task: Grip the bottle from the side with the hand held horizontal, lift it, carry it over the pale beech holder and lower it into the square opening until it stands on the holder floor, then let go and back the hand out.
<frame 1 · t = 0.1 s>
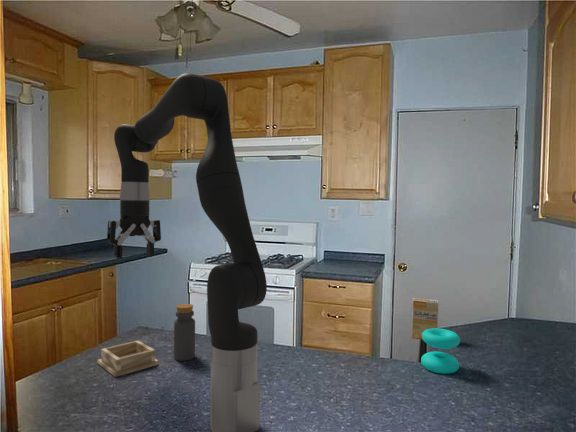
hand: (134, 257, 115), 29 cm above the worktop, tool pointing down, fingers open, 8 cm apart
bottle holder: (128, 363, 115), on the worktop
donuts: (439, 368, 116), on the worktop
bottle: (184, 357, 121), on the worktop
supplement box: (424, 338, 141), on the worktop
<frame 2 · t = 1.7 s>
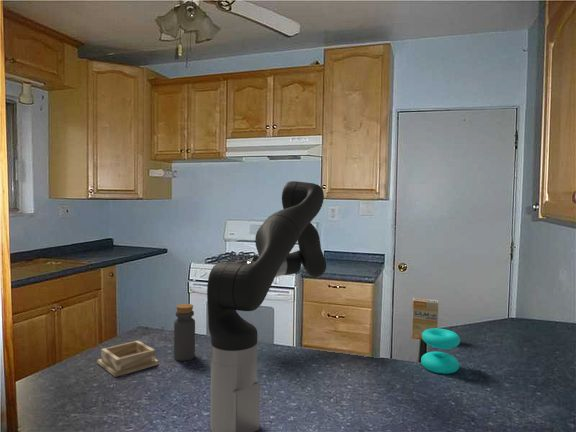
hand: (221, 269, 125), 25 cm above the worktop, tool horizontal, fingers open, 8 cm apart
nothing on the worktop moved.
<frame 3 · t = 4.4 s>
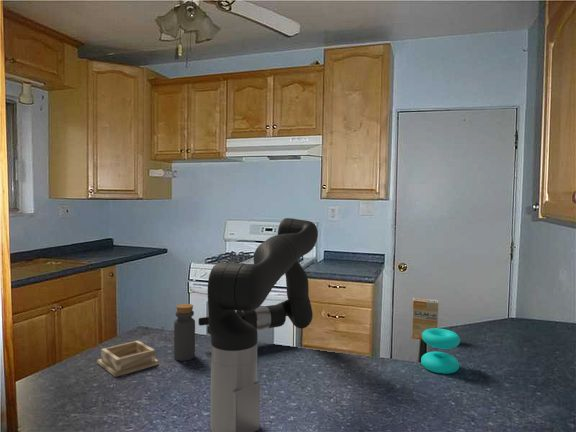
hand: (203, 325, 123), 8 cm above the worktop, tool horizontal, fingers open, 8 cm apart
nothing on the worktop moved.
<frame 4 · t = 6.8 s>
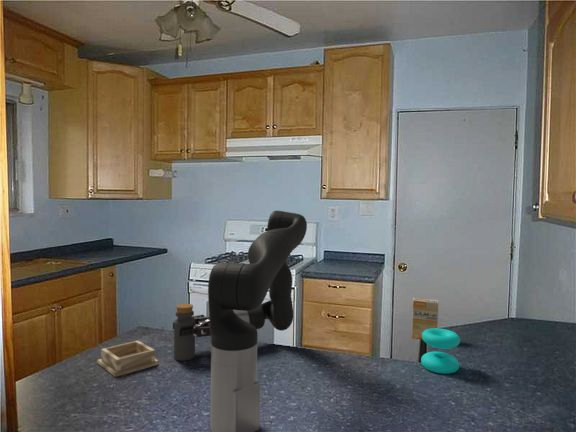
hand: (176, 329, 119), 9 cm above the worktop, tool horizontal, fingers closed on bottle, 5 cm apart
bottle: (184, 357, 121), on the worktop, touching gripper
everything else where it was.
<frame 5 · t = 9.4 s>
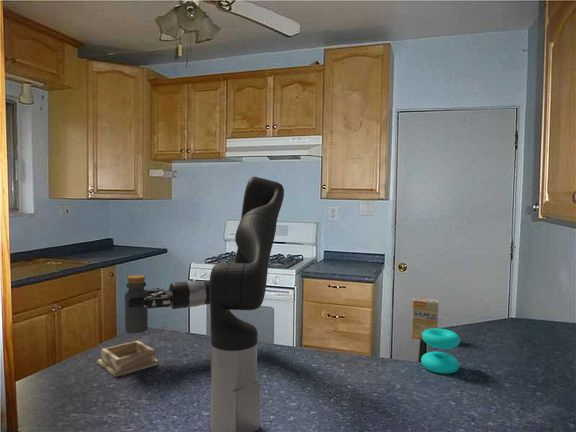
hand: (126, 300, 114), 18 cm above the worktop, tool horizontal, fingers closed on bottle, 5 cm apart
bottle: (136, 330, 116), point 9 cm above the worktop, touching gripper
everything else where it was.
when the fingers open (11 cm above the worktop, at t = 12.2 s): bottle drops 1 cm, resting on bottle holder.
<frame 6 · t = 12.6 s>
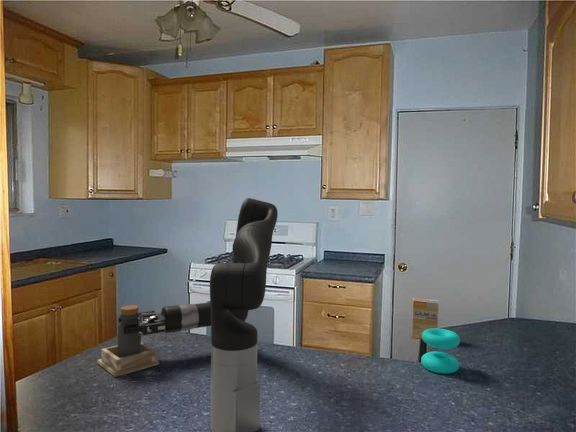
hand: (120, 325, 114), 11 cm above the worktop, tool horizontal, fingers open, 8 cm apart
bottle: (129, 362, 114), point 1 cm above the worktop, touching bottle holder, gripper
everything else where it was.
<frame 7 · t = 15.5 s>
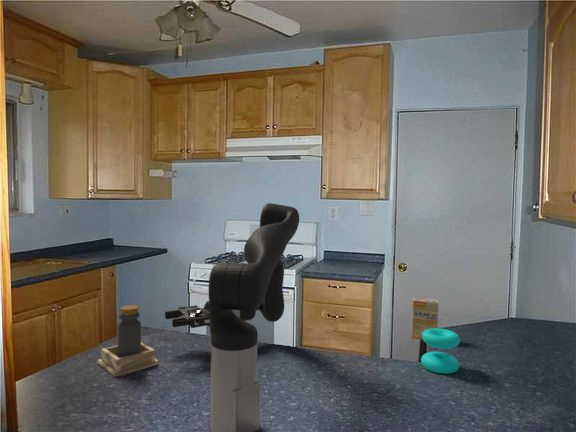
hand: (168, 319, 120), 11 cm above the worktop, tool horizontal, fingers open, 8 cm apart
bottle: (129, 362, 114), point 1 cm above the worktop, touching bottle holder
everything else where it was.
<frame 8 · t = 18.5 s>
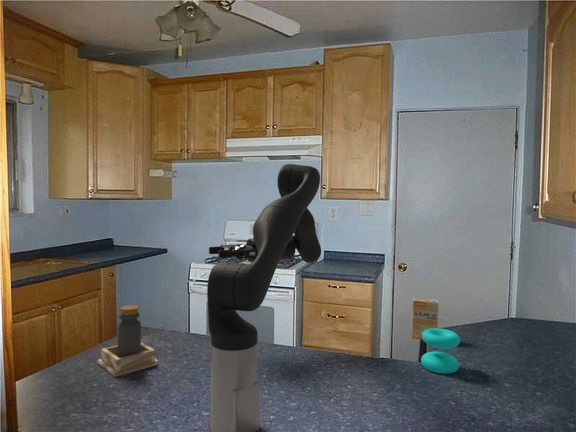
hand: (214, 252, 123), 30 cm above the worktop, tool horizontal, fingers open, 8 cm apart
nothing on the worktop moved.
at the end: bottle 1.1 cm off-centre on the bottle holder, point 0.8 cm above the bottle holder's base; bottle tilted 0°; the gripper is holding nothing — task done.
